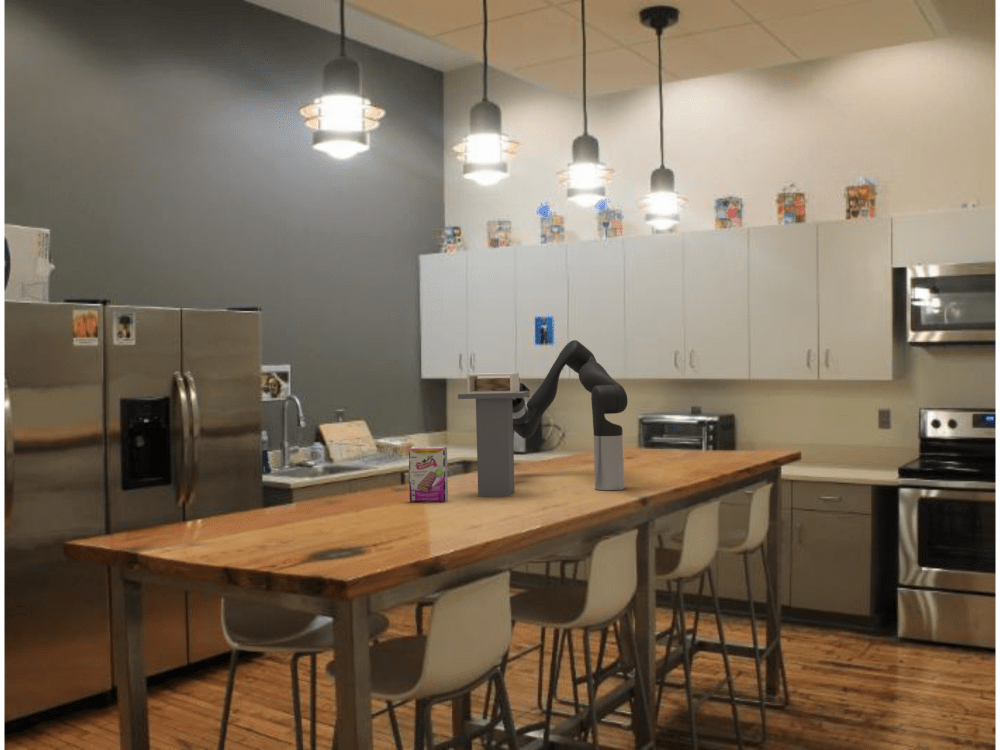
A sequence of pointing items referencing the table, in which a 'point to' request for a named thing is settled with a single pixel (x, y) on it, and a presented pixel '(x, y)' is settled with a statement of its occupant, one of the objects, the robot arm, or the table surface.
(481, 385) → the mailer tray
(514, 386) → the sleeve
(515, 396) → the charcoal pedestal
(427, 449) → the candy bar box
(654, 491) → the table surface
